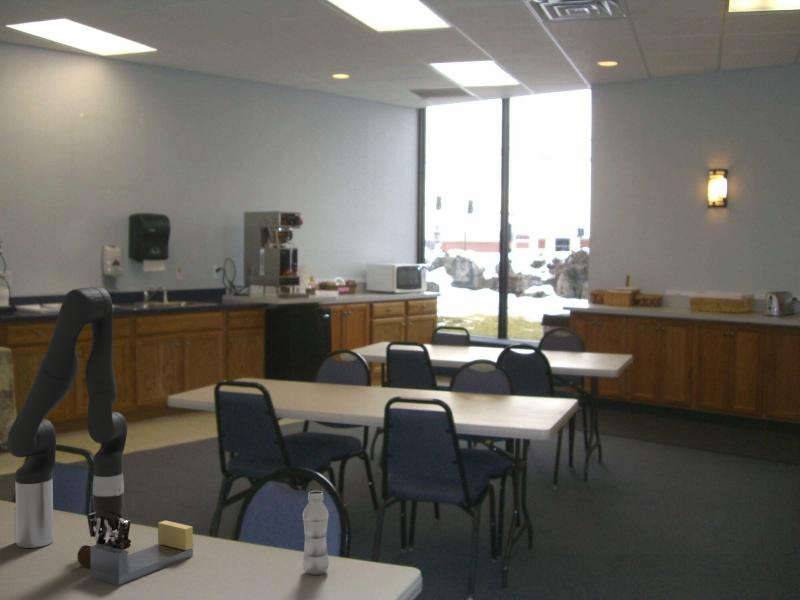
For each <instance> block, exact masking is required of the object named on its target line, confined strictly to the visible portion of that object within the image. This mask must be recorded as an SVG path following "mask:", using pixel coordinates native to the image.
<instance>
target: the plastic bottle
mask: <svg viewBox="0 0 800 600" xmlns="http://www.w3.org/2000/svg"><path fill="white" fill-rule="evenodd" d="M307 496H308V497H307V501H308V503H307V505H306V506H305V507H304V509H303V511H302V520H303V521H302V522H303V527H304V530H303V531H304V548H303V551H304V552H303V557H302V569H303V570H304V572H305V573H306V574H308V575H314V576H315V575H316V576H317V575H322V574H325V573H326V572H327V570H329V569H328V568H329V565H330V562H329V559H330V558H329V554H328V545H327V535H328V534H327V533H328V532H327V531H328V521H329V516H330V515H329V511H328V508H327V507H326V505H325V504H324V502H323V501H324V491H322V490H311V491H309V492H308V495H307Z"/></svg>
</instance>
